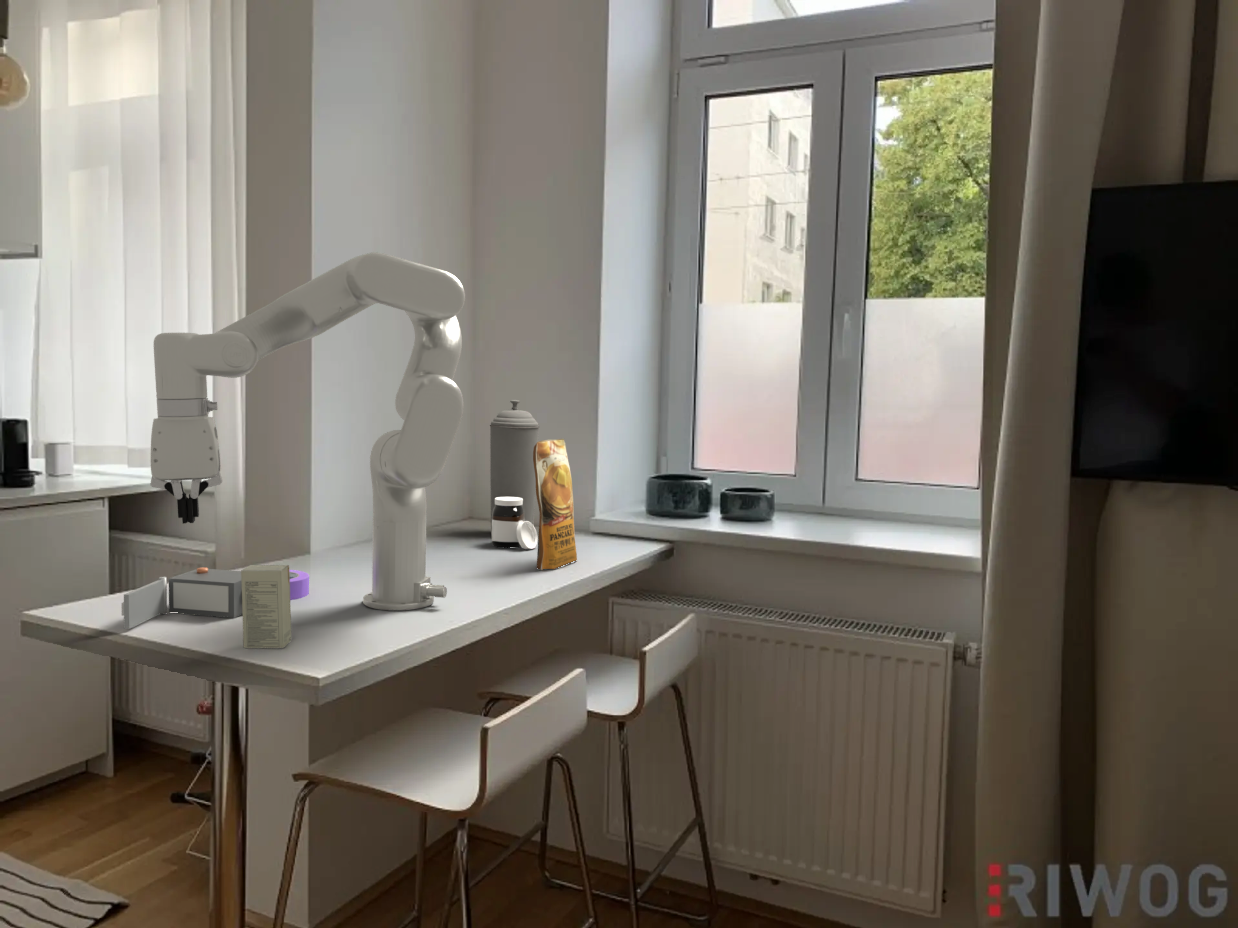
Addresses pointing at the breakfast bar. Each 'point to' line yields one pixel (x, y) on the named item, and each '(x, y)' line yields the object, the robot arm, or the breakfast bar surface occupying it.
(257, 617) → the skincare box
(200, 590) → the toy microwave oven
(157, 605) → the side door
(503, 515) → the spread jar
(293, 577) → the masking tape
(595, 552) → the breakfast bar surface
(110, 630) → the breakfast bar surface
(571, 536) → the pancake mix bag
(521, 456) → the canister
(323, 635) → the breakfast bar surface
